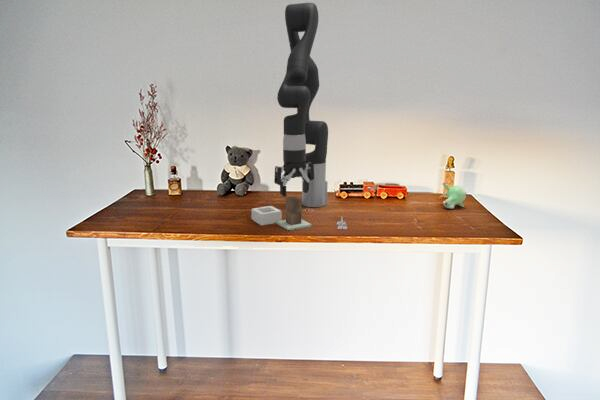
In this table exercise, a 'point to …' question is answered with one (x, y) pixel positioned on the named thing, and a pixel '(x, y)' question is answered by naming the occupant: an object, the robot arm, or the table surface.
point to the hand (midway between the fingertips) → (294, 194)
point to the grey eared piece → (341, 224)
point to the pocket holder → (266, 215)
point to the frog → (453, 196)
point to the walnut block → (293, 210)
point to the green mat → (293, 227)
